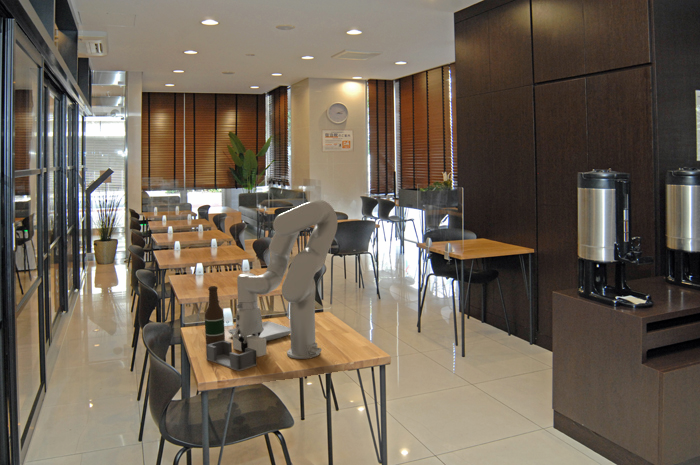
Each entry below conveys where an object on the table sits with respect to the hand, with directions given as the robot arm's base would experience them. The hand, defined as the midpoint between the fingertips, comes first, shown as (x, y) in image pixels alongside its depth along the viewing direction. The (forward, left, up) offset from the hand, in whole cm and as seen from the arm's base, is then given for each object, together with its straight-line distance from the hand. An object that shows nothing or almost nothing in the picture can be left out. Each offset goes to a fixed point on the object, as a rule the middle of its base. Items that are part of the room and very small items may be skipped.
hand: (249, 350), depth 218 cm
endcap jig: (-5, +12, 0) cm, 13 cm away
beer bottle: (+19, +3, -1) cm, 19 cm away
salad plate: (+13, -16, -1) cm, 21 cm away
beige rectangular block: (0, 0, 0) cm, 0 cm away
